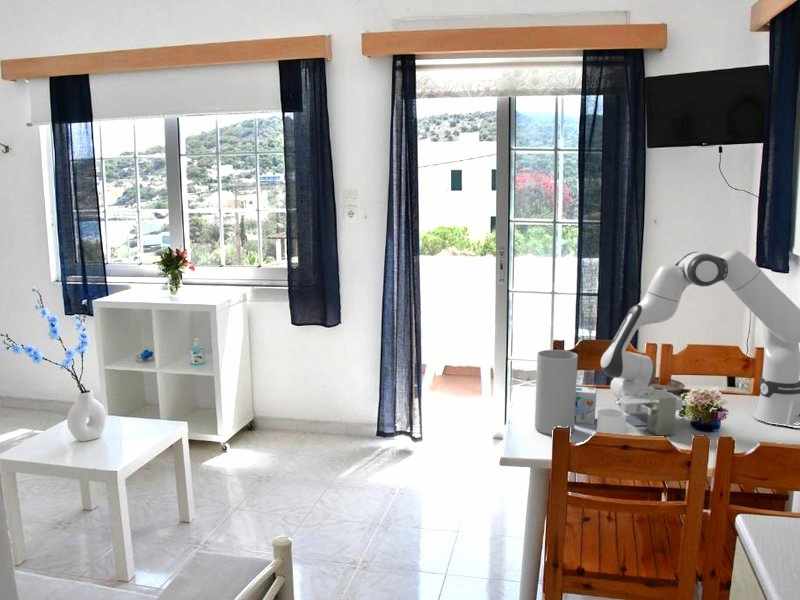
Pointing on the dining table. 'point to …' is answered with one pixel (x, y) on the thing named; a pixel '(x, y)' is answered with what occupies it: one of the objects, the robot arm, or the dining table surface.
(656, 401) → the sage green pillar
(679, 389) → the plant saucer
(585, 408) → the light bulb box
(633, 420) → the slate mat
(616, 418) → the cup
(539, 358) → the cylinder vase
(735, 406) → the dining table surface
